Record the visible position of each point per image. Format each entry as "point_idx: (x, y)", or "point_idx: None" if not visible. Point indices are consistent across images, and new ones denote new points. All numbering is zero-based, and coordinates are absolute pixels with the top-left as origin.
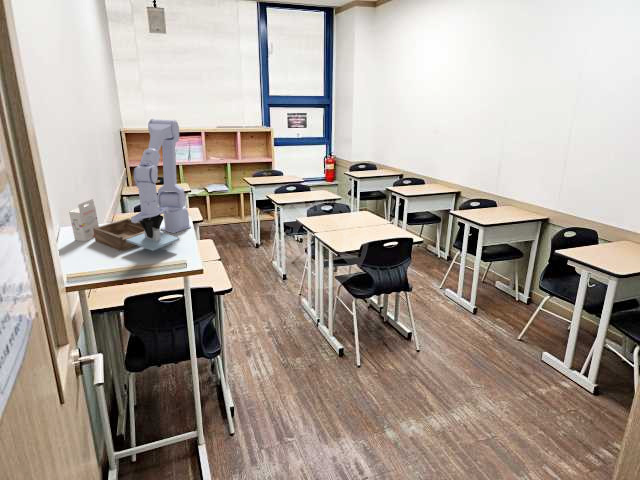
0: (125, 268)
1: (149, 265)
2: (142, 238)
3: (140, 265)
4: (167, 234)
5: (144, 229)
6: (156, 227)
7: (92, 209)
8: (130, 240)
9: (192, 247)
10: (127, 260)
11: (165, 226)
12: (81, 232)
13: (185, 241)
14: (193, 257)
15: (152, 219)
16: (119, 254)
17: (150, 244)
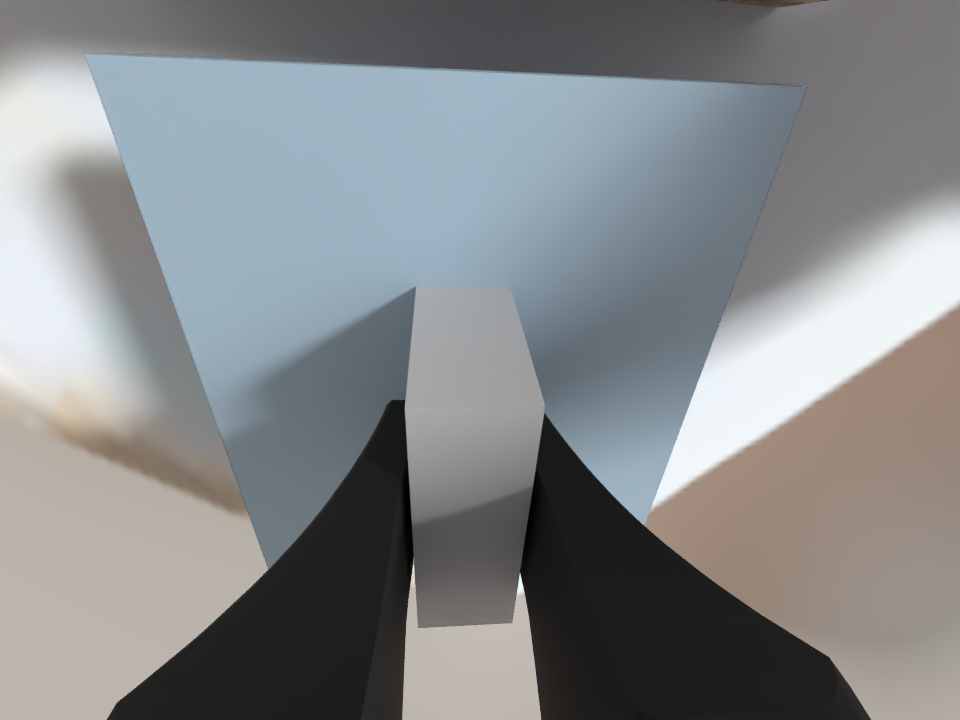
0: (15, 419)
1: (224, 502)
2: (366, 281)
3: (162, 460)
4: (679, 419)
5: (335, 495)
6: (529, 586)
7: None
8: (150, 185)
9: (668, 494)
10: (94, 295)
11: None
12: None
13: (780, 375)
14: (518, 588)
15: (581, 715)
16: (58, 36)
17: (316, 497)
